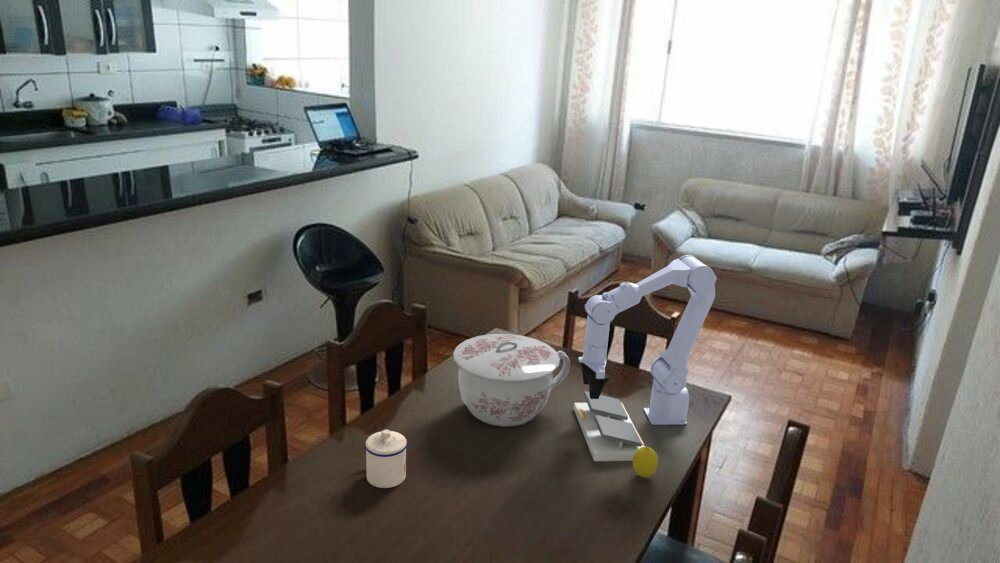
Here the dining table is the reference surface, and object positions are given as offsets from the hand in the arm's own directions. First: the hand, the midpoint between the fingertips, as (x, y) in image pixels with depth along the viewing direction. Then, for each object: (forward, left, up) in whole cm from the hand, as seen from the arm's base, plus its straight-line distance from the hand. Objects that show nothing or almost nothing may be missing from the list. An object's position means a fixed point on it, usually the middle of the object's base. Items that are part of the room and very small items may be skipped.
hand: (590, 391), depth 179 cm
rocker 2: (-4, +12, -5) cm, 14 cm away
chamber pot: (+21, -5, -9) cm, 24 cm away
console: (-4, +6, -9) cm, 11 cm away
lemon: (-8, +24, -9) cm, 27 cm away
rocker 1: (-4, 0, -5) cm, 6 cm away
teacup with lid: (+51, +21, -9) cm, 57 cm away
